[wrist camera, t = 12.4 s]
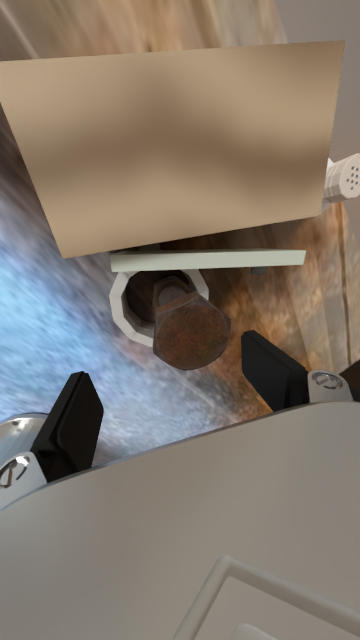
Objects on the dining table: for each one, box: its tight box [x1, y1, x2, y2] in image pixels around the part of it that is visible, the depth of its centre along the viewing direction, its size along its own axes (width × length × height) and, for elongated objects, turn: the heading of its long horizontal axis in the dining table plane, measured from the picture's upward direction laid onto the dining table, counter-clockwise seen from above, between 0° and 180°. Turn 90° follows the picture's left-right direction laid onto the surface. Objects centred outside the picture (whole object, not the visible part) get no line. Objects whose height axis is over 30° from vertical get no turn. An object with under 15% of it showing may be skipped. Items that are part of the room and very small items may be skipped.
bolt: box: [152, 275, 231, 371], centre depth 19 cm, size 6×5×15 cm
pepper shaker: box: [284, 153, 360, 222], centre depth 20 cm, size 4×4×10 cm
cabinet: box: [0, 40, 345, 332], centre depth 19 cm, size 21×19×12 cm
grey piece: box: [109, 248, 306, 347], centre depth 20 cm, size 12×18×8 cm, turn 91°
